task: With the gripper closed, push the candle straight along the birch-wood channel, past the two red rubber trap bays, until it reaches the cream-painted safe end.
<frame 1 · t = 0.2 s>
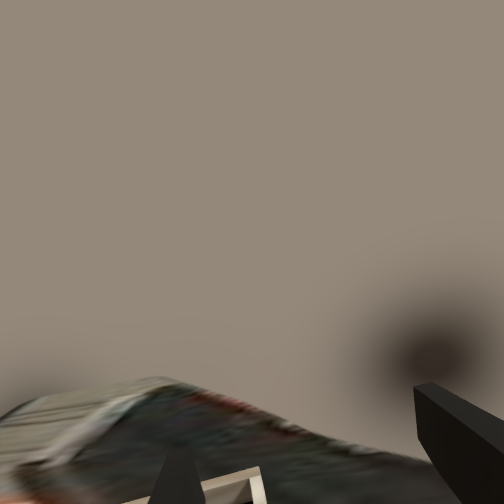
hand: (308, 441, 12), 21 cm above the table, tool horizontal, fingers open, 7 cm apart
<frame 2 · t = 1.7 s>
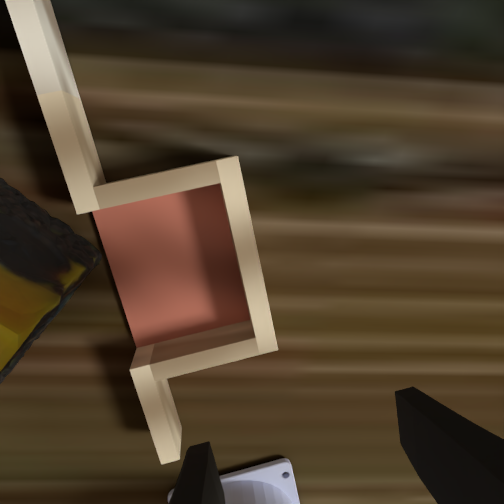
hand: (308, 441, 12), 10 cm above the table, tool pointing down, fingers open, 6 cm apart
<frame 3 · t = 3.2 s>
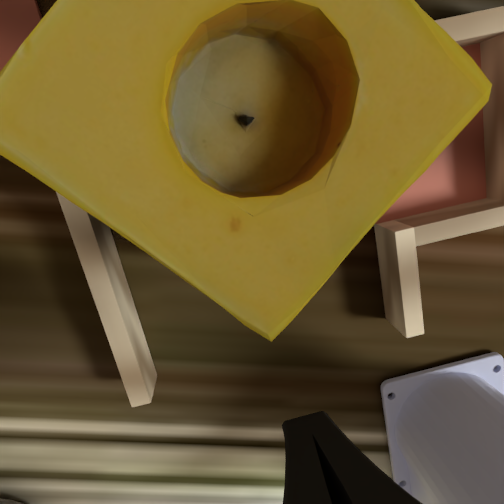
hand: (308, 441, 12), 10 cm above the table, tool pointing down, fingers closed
trap channel: (216, 88, 18), on the table
candle: (225, 130, 19), resting in trap channel
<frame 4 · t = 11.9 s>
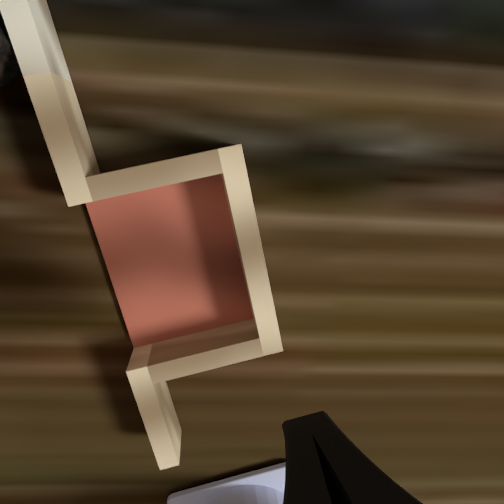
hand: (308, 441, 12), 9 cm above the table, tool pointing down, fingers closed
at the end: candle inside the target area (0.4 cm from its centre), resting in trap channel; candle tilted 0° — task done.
